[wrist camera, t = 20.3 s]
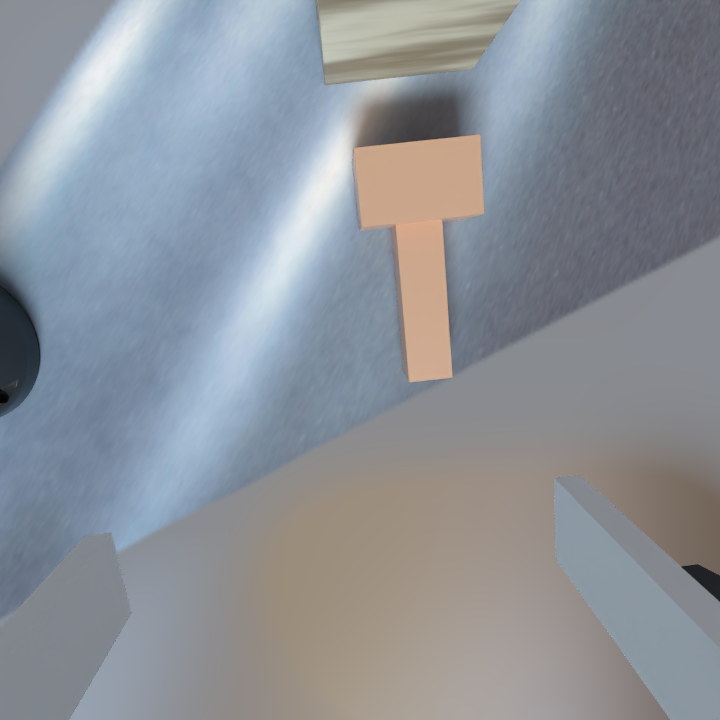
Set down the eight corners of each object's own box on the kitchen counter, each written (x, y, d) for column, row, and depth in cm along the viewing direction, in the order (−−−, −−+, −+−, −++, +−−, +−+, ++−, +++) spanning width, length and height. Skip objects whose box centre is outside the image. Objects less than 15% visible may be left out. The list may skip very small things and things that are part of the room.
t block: (472, 363, 47) (491, 379, 41) (373, 375, 47) (378, 392, 41) (461, 151, 42) (480, 134, 36) (352, 162, 42) (353, 147, 36)
